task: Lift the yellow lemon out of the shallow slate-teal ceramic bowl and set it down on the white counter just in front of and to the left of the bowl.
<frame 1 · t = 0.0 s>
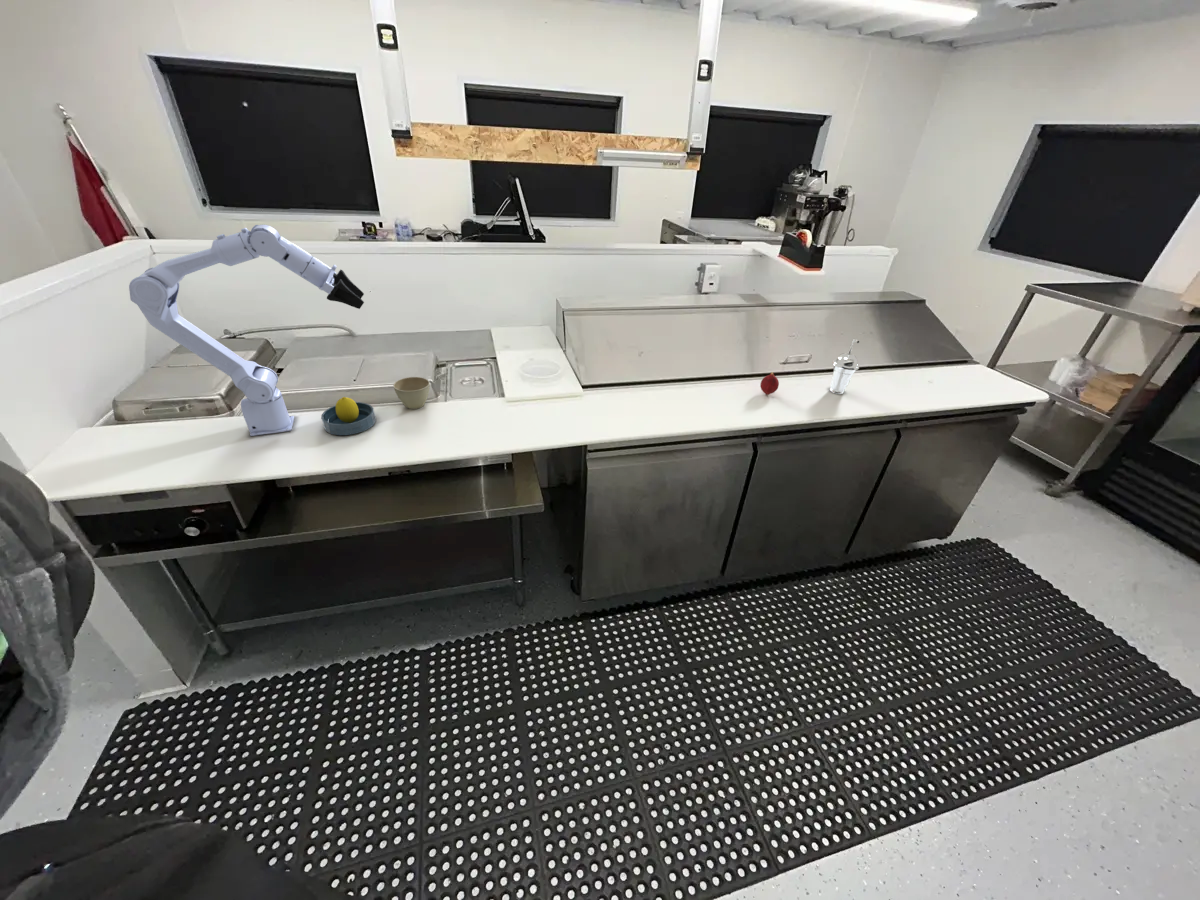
hand: (361, 301, 124), 32 cm above the worktop, tool tilted 50°, fingers open, 7 cm apart
onion: (766, 395, 164), on the worktop
bowl: (350, 424, 135), on the worktop
lemon: (350, 423, 135), resting on bowl
cup with straw: (836, 391, 169), on the worktop
flower pot: (415, 405, 146), on the worktop
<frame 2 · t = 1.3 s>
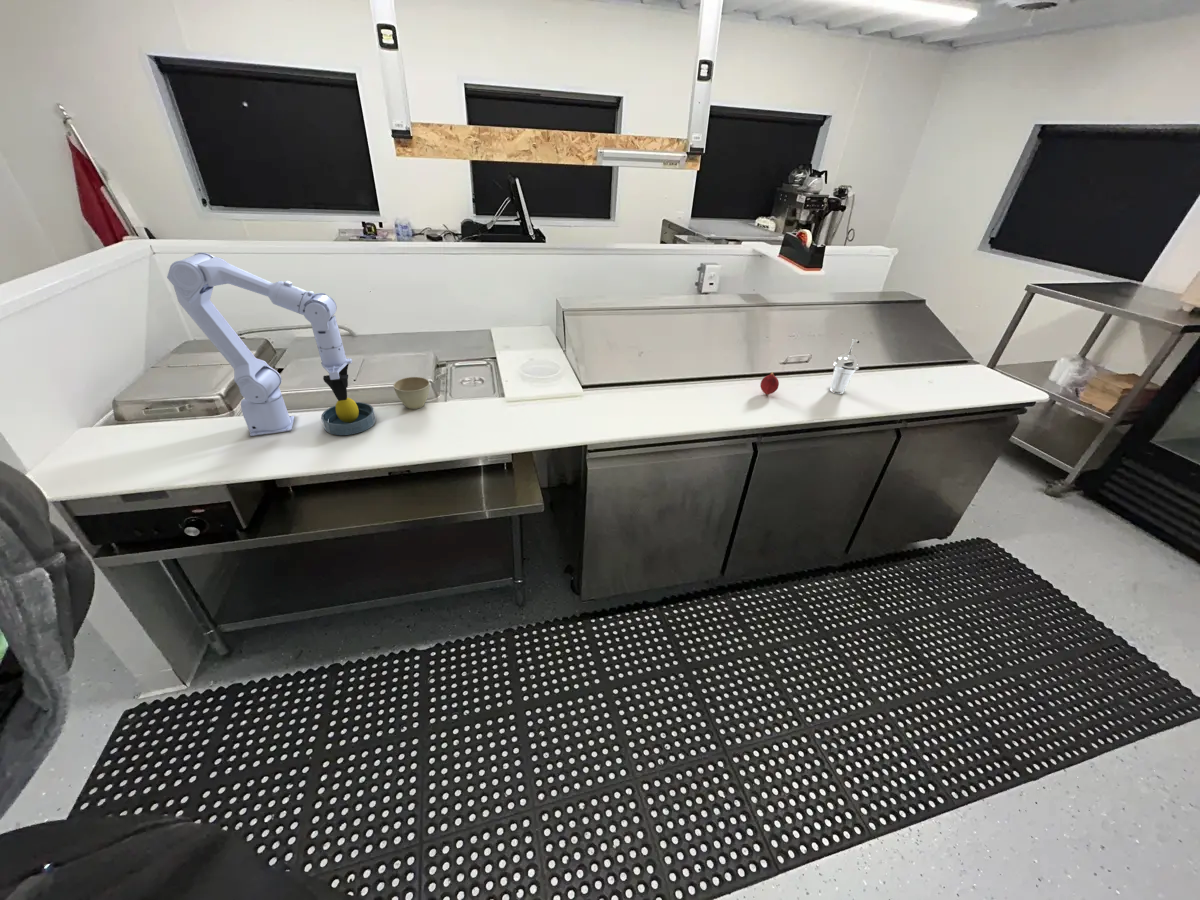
hand: (343, 393, 130), 9 cm above the worktop, tool pointing down, fingers open, 7 cm apart
nothing on the worktop moved.
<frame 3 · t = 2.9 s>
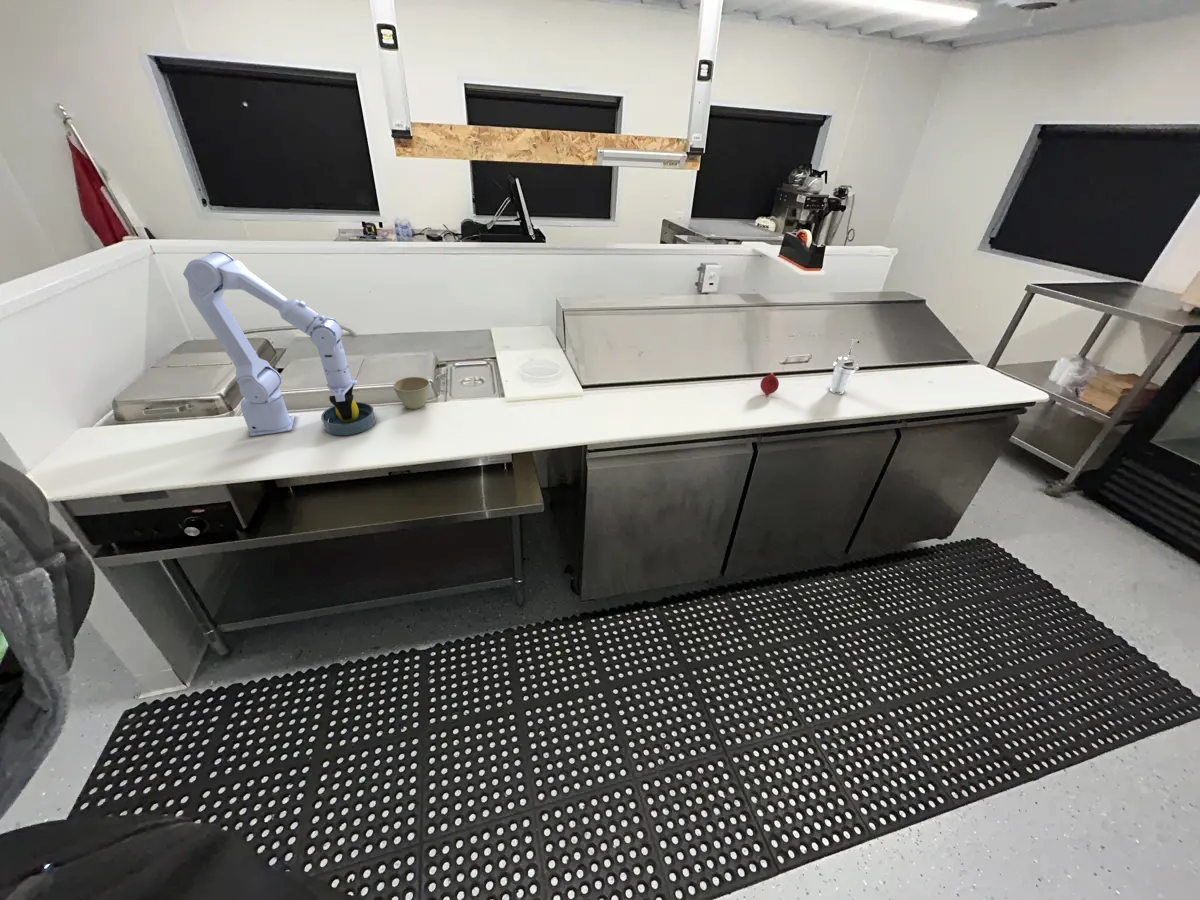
hand: (348, 413, 133), 3 cm above the worktop, tool pointing down, fingers closed on lemon, 5 cm apart
lemon: (350, 423, 135), resting on bowl, touching gripper
everything else where it was.
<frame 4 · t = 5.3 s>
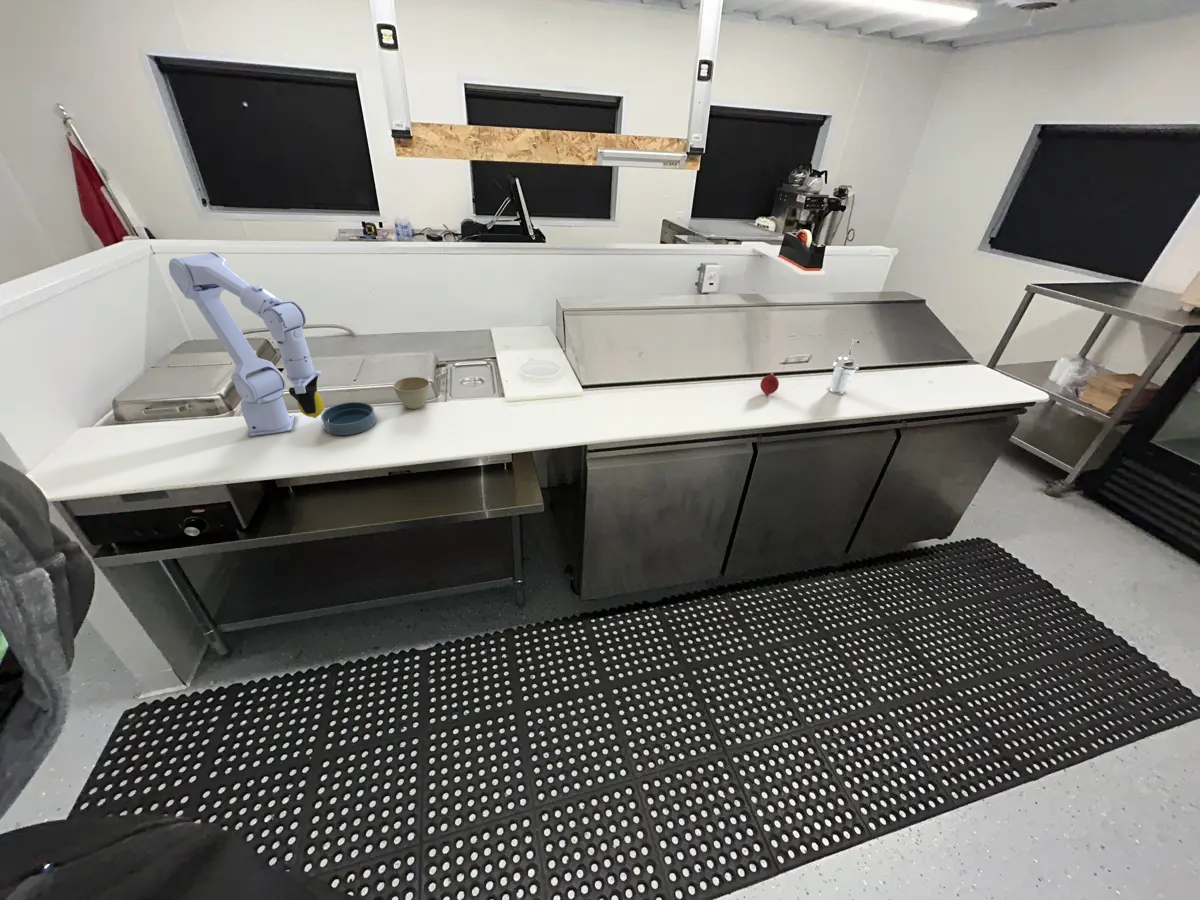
hand: (311, 407, 121), 10 cm above the worktop, tool pointing down, fingers closed on lemon, 5 cm apart
lemon: (315, 418, 123), point 7 cm above the worktop, touching gripper
everything else where it was.
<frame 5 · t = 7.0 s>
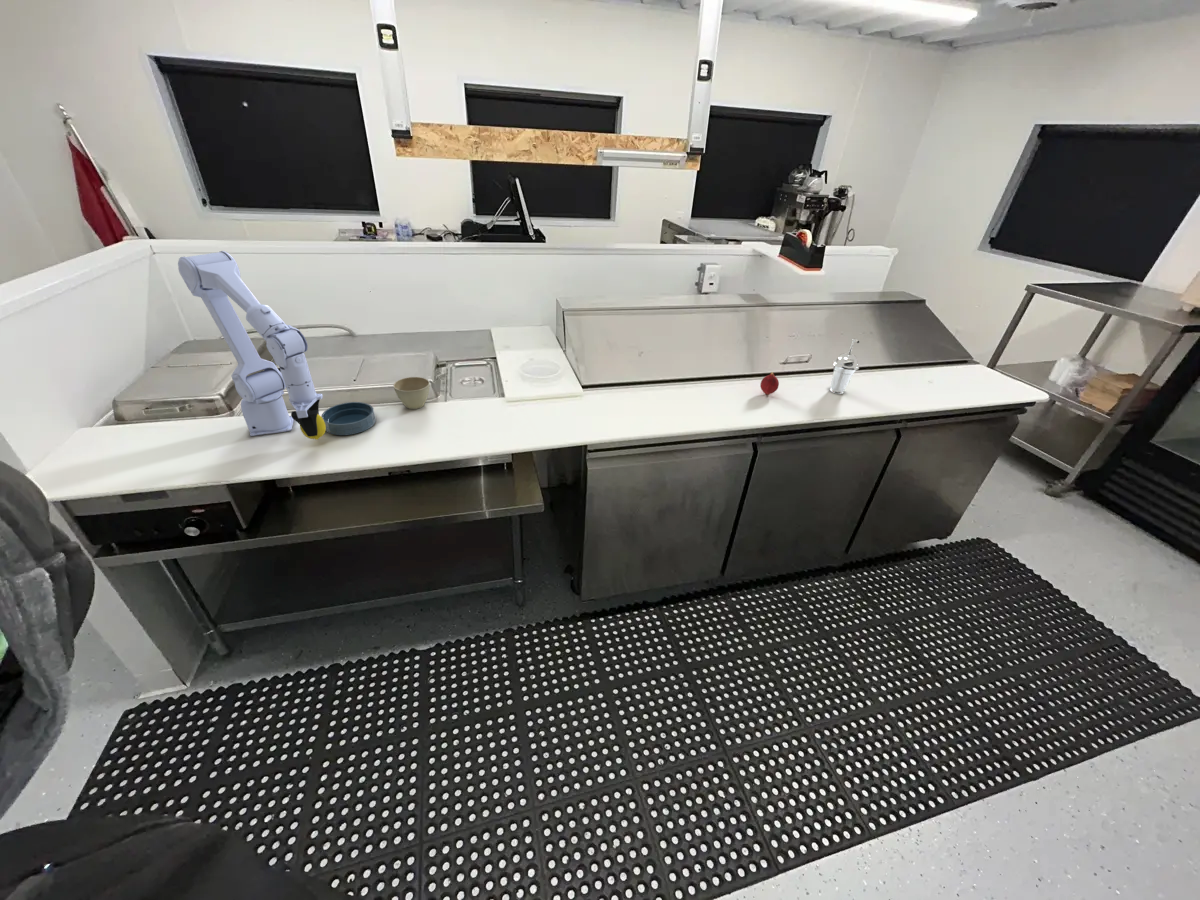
hand: (313, 429, 123), 4 cm above the worktop, tool pointing down, fingers closed on lemon, 5 cm apart
lemon: (317, 440, 125), point 1 cm above the worktop, touching gripper
everything else where it was.
when the fingers open (3 cm above the worktop, at t = 8.0 s): lemon stays where it is, on the worktop.
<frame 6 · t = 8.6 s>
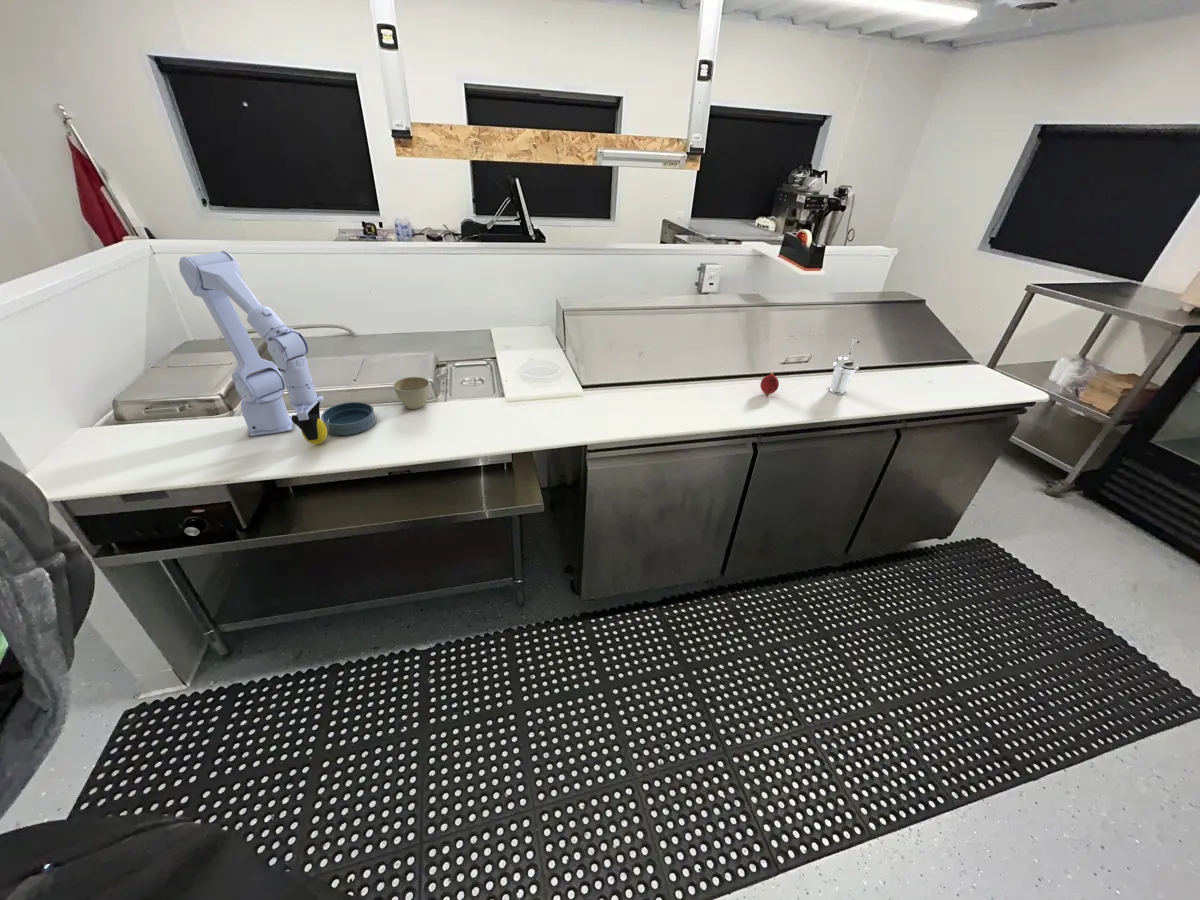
hand: (314, 431, 124), 4 cm above the worktop, tool pointing down, fingers open, 7 cm apart
lemon: (318, 444, 126), on the worktop
everything else where it was.
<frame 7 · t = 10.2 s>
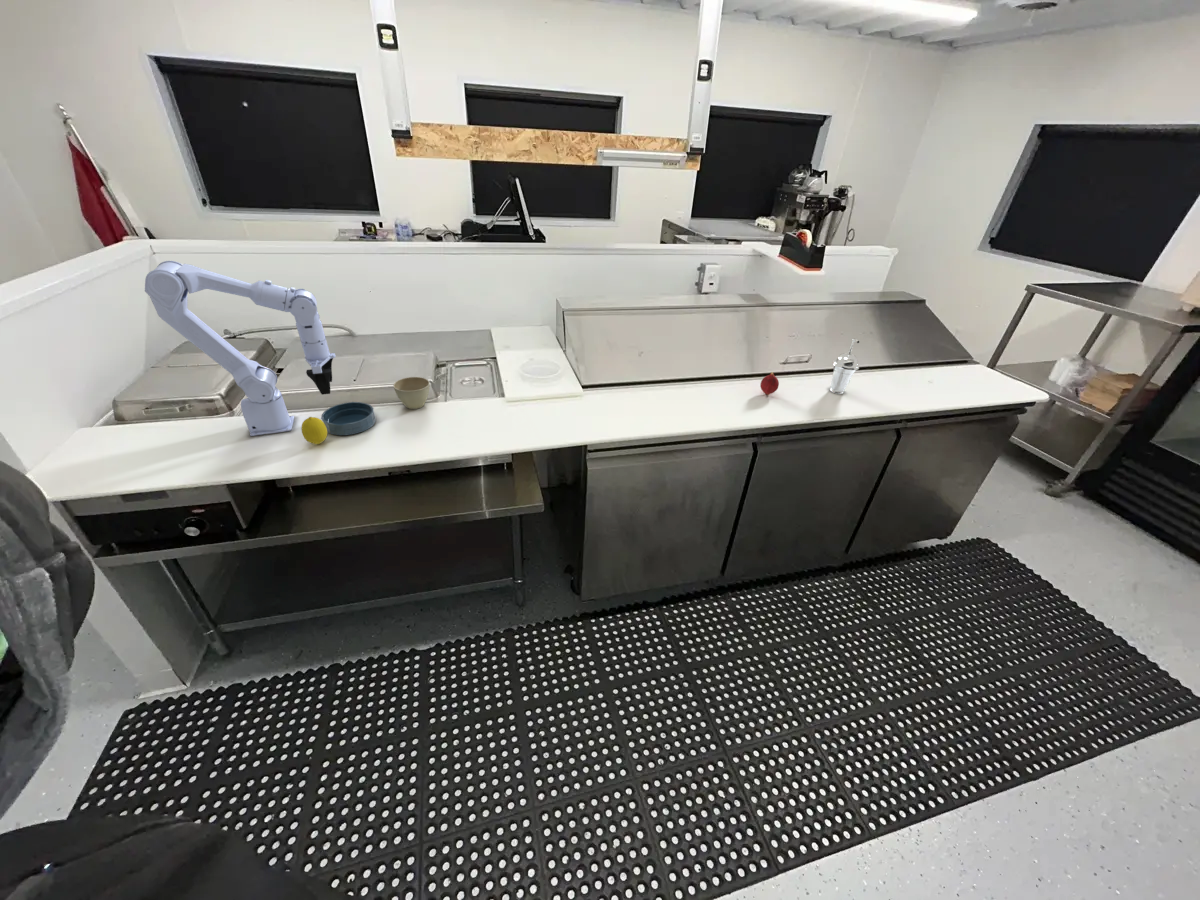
hand: (327, 387, 132), 9 cm above the worktop, tool pointing down, fingers open, 7 cm apart
nothing on the worktop moved.
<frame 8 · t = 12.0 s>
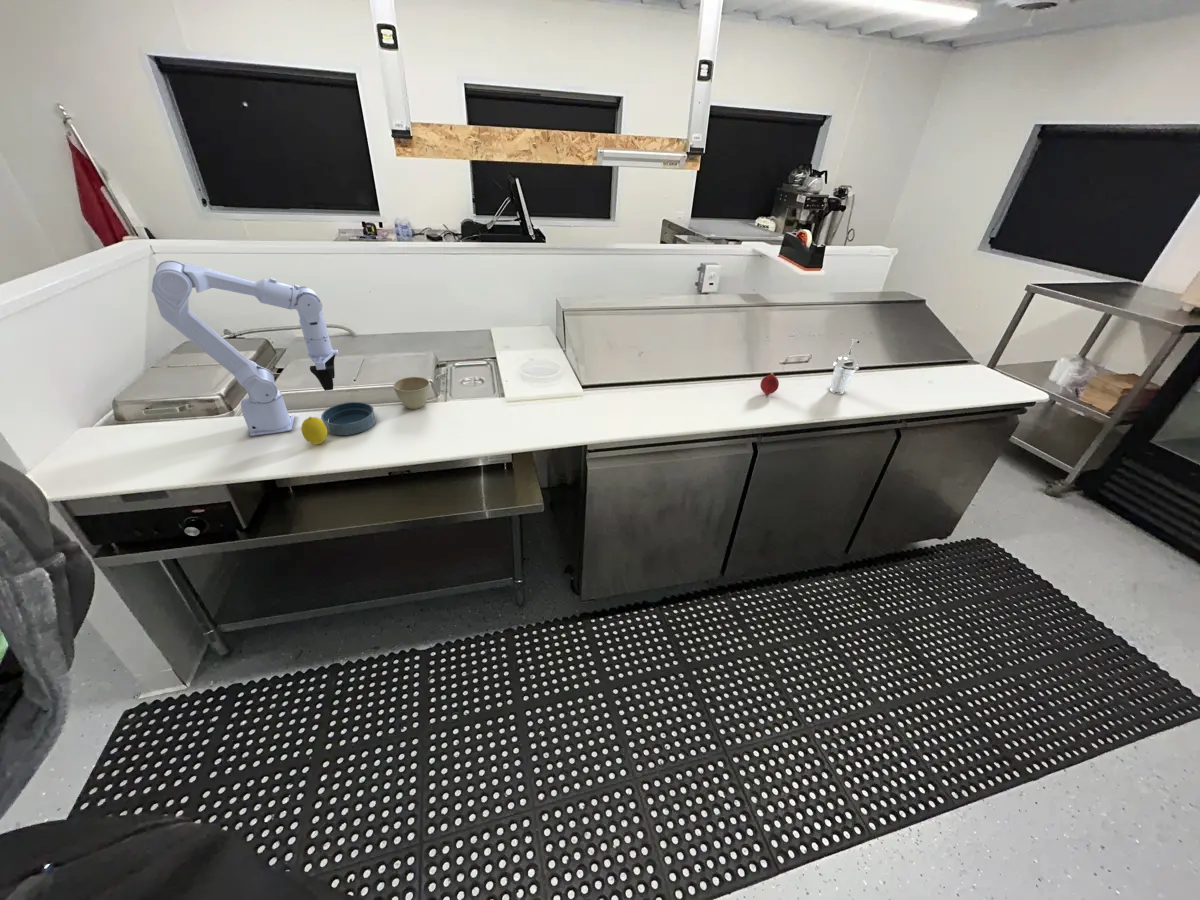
hand: (329, 383, 134), 9 cm above the worktop, tool pointing down, fingers open, 7 cm apart
nothing on the worktop moved.
at the end: lemon inside the target area (0.1 cm from its centre), on the worktop; lemon touching worktop; the gripper is holding nothing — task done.
